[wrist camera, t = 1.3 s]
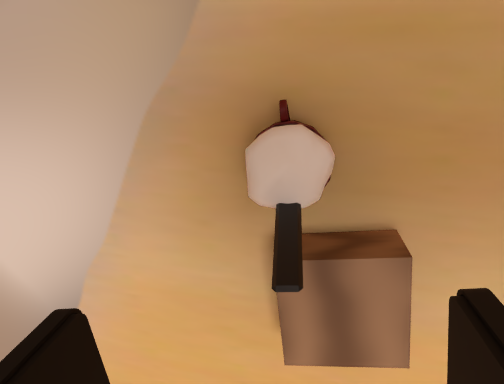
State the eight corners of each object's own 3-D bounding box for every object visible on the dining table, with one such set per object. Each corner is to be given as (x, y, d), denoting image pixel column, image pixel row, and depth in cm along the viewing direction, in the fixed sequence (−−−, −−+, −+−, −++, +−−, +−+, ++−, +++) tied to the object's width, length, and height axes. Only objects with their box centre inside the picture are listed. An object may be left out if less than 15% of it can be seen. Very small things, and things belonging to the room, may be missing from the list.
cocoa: (270, 93, 28) (239, 94, 16) (347, 116, 27) (370, 133, 16) (239, 201, 31) (194, 265, 19) (308, 224, 30) (303, 304, 19)
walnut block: (395, 228, 30) (412, 257, 25) (394, 325, 33) (409, 368, 28) (278, 233, 31) (273, 261, 27) (287, 325, 34) (284, 365, 30)
